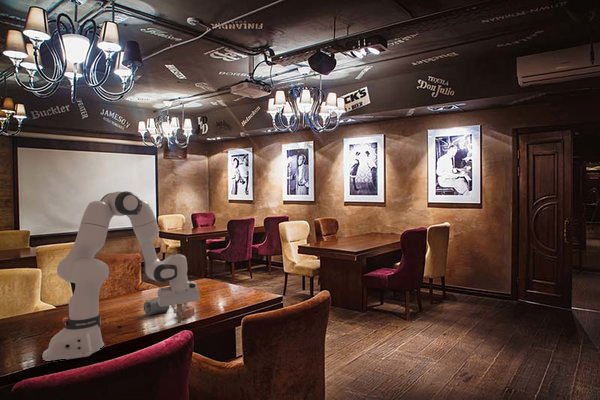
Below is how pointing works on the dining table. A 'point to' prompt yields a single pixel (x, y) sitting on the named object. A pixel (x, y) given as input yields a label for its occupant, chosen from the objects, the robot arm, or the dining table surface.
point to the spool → (153, 307)
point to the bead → (188, 311)
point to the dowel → (179, 312)
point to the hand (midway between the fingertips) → (179, 312)
